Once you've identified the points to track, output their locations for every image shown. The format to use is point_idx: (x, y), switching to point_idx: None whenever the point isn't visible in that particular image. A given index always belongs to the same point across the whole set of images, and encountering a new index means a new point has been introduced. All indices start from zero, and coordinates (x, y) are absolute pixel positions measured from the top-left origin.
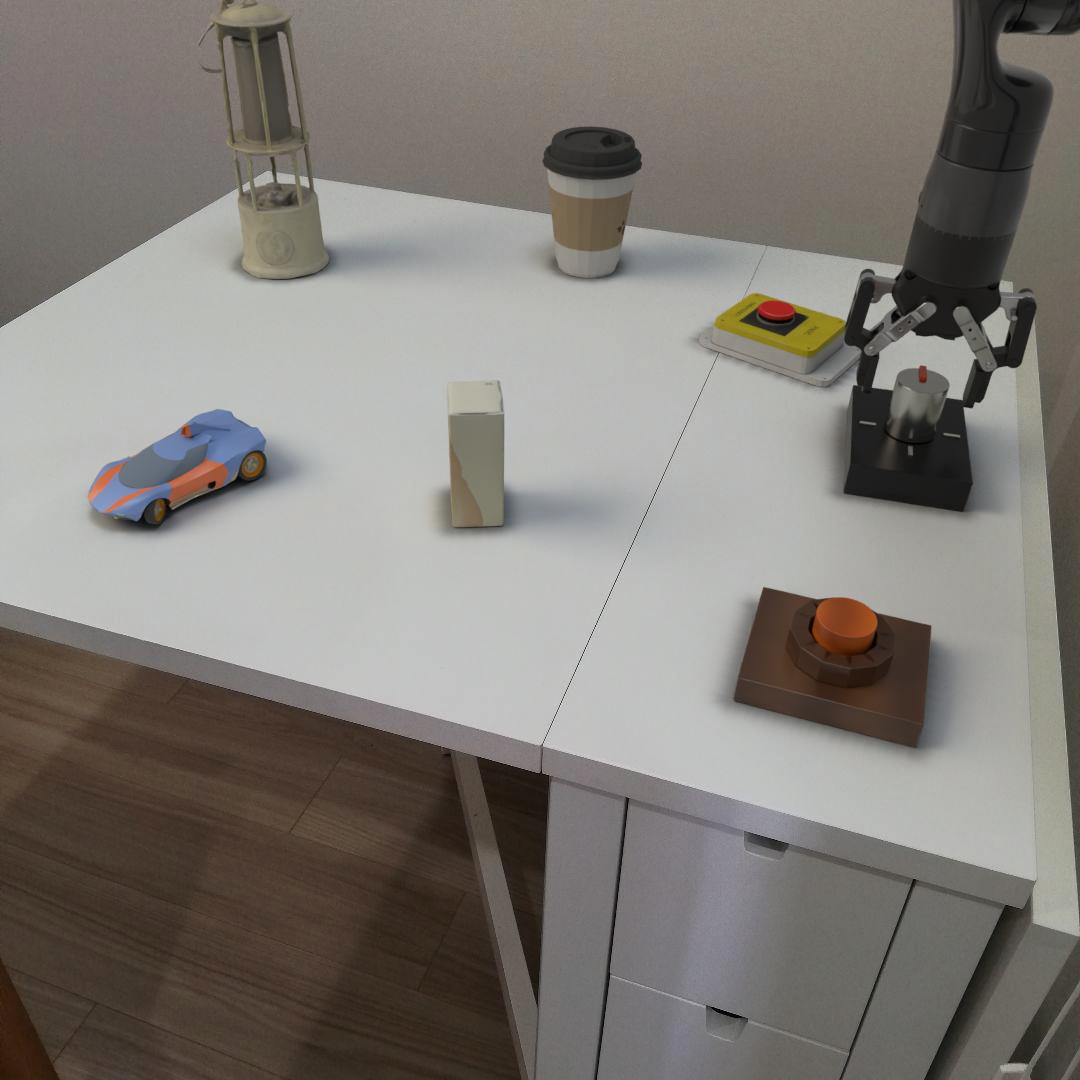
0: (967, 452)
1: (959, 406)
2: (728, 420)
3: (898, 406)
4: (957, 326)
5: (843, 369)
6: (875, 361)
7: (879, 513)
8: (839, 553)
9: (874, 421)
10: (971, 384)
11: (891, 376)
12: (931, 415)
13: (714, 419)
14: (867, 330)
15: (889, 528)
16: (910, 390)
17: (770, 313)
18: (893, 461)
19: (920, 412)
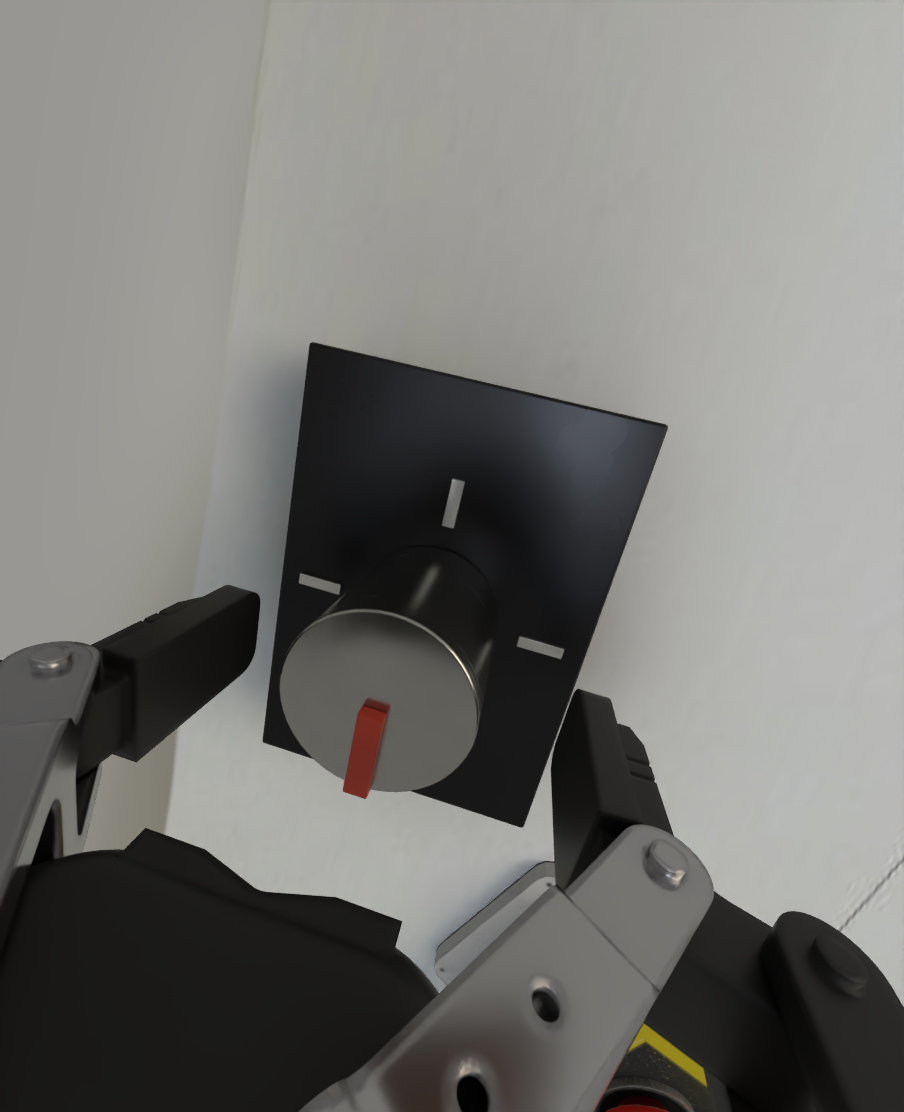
0: (295, 504)
1: (275, 715)
2: (856, 758)
3: (477, 627)
4: (33, 947)
5: (491, 911)
6: (609, 795)
7: (568, 333)
8: (760, 95)
9: (515, 659)
10: (193, 631)
11: (389, 879)
12: (373, 577)
13: (897, 765)
14: (675, 1036)
15: (561, 259)
16: (444, 640)
17: None
18: (519, 447)
19: (411, 582)
